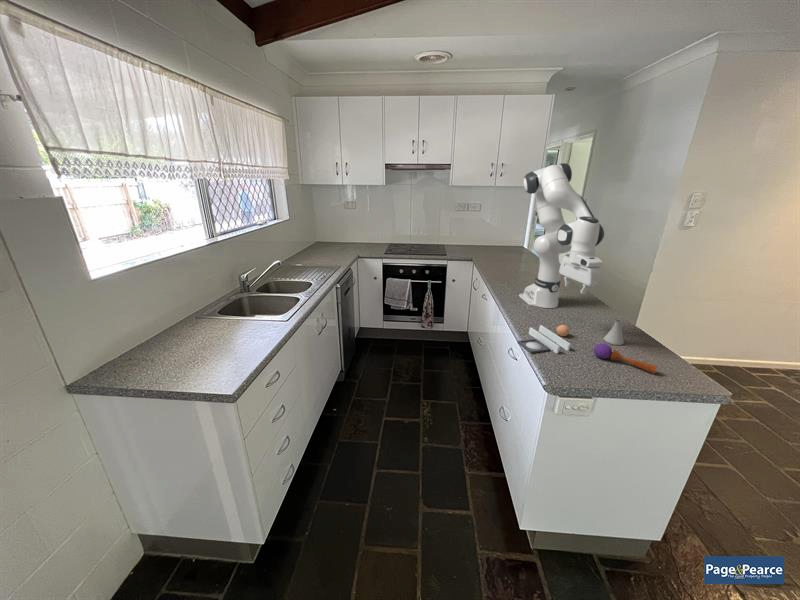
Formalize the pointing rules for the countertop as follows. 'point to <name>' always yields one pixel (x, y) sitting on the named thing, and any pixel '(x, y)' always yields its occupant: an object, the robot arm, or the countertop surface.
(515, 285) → the countertop surface
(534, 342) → the gray square tray
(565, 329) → the ball
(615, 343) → the flask
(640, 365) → the purple and orange maraca
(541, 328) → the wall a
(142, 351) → the countertop surface
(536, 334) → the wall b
